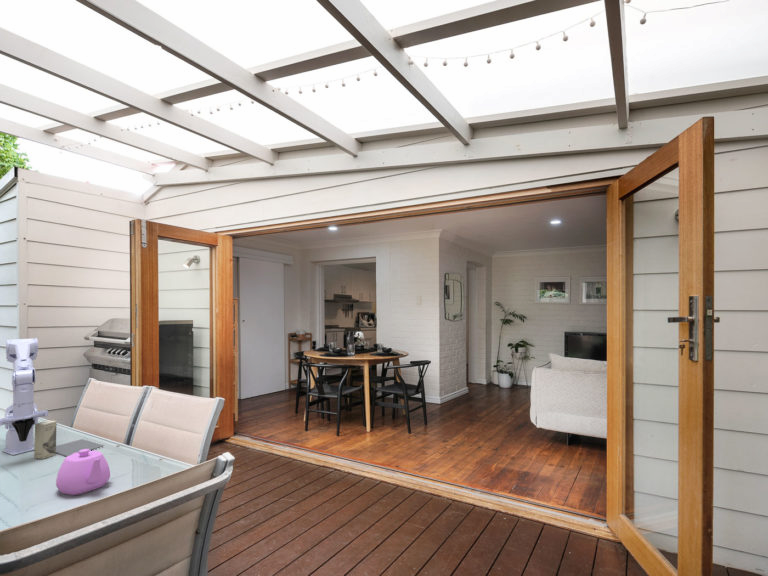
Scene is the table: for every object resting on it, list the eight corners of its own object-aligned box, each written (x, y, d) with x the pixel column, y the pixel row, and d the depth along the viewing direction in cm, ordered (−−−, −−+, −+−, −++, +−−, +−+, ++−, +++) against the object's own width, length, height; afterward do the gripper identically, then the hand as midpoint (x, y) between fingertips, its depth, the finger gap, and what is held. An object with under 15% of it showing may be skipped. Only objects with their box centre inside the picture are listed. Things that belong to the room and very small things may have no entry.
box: (43, 459, 156) (43, 424, 156) (33, 458, 157) (34, 423, 157) (56, 454, 161) (57, 420, 162) (47, 453, 162) (47, 419, 163)
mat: (45, 450, 166) (45, 448, 166) (82, 440, 178) (82, 439, 178) (67, 457, 158) (67, 456, 158) (104, 446, 169) (104, 445, 169)
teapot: (46, 489, 131) (47, 451, 132) (94, 474, 142) (95, 439, 143) (73, 506, 120) (74, 464, 120) (124, 488, 131) (124, 450, 131)
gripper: (2, 408, 145) (2, 448, 145) (52, 400, 158) (51, 436, 158) (-6, 406, 149) (-7, 445, 148) (43, 398, 162) (42, 433, 161)
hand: (22, 440), depth 153 cm, fingers closed
